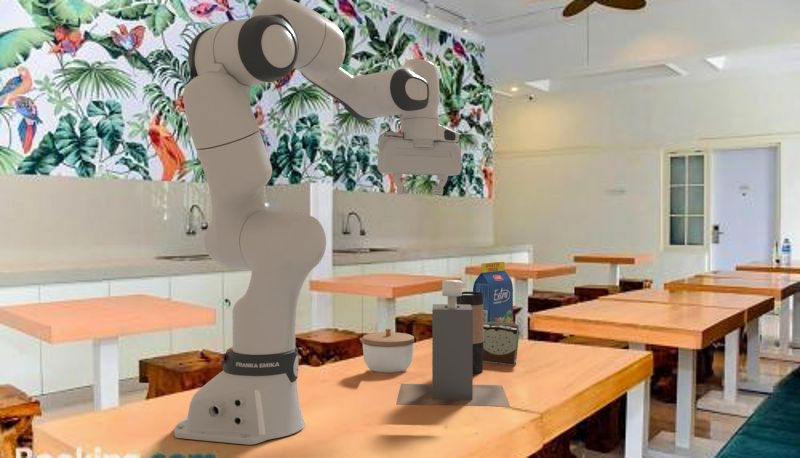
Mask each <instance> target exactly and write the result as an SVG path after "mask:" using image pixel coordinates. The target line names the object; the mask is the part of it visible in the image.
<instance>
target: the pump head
mask: <svg viewBox="0 0 800 458" xmlns="http://www.w3.org/2000/svg"><path fill="white" fill-rule="evenodd" d="M441 281H442V282H441V283H442V284H441V285H442V286H441V287H442V291H441V293H442V296H443V297H447V304H448V308H457V296H462V292H463V289H465V288H467V282H465V281H462V280H460V279H444V280H441Z"/></svg>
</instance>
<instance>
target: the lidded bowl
mask: <svg viewBox="0 0 800 458" xmlns="http://www.w3.org/2000/svg"><path fill="white" fill-rule="evenodd" d="M391 329H392V328H385V332H383V331H382V332H372V333H368V334H365V335H363V336H362V337H361V341H362V354H363V360H364V363H365V365H366V367H367V368H368V369H369V371H372V372H377V373H390V374H391V373H400V372H406V371H407V370H408V369H409V367H410V366H411V364H412V361H413V358H414V357H413V356H414V351H415V350H414V348H415V346H414V343H415V336H414V335H413V334H412V335H411V334H409V333H405V332H395V331H394V332H392V331H391Z"/></svg>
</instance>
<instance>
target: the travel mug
mask: <svg viewBox="0 0 800 458" xmlns="http://www.w3.org/2000/svg"><path fill="white" fill-rule="evenodd" d="M457 304H461V305H471V307H472V309H473V376H474V375H479V374H482V373H483V368H484V367H483V366H484V365H483V364H484V362H483V341H484V337H483V293H480V292H473V291H462V296H457Z"/></svg>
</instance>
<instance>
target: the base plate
mask: <svg viewBox="0 0 800 458" xmlns="http://www.w3.org/2000/svg"><path fill="white" fill-rule="evenodd" d="M397 405H401V406H403V405H404V406H405V405H406V406H408V405H409V406H413V405H414V406H451V407H452V406H457V407H458V406H460V407H461V406H463V407H465V406H466V407H468V406H469V407H510V408H511V405H510V402H509V399H508V397H507V394H506V391H505V390H504V387H503V385H502V384H473V400H448V399H432V383H400V387H399V391H398V395H397V399H396V406H397Z"/></svg>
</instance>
